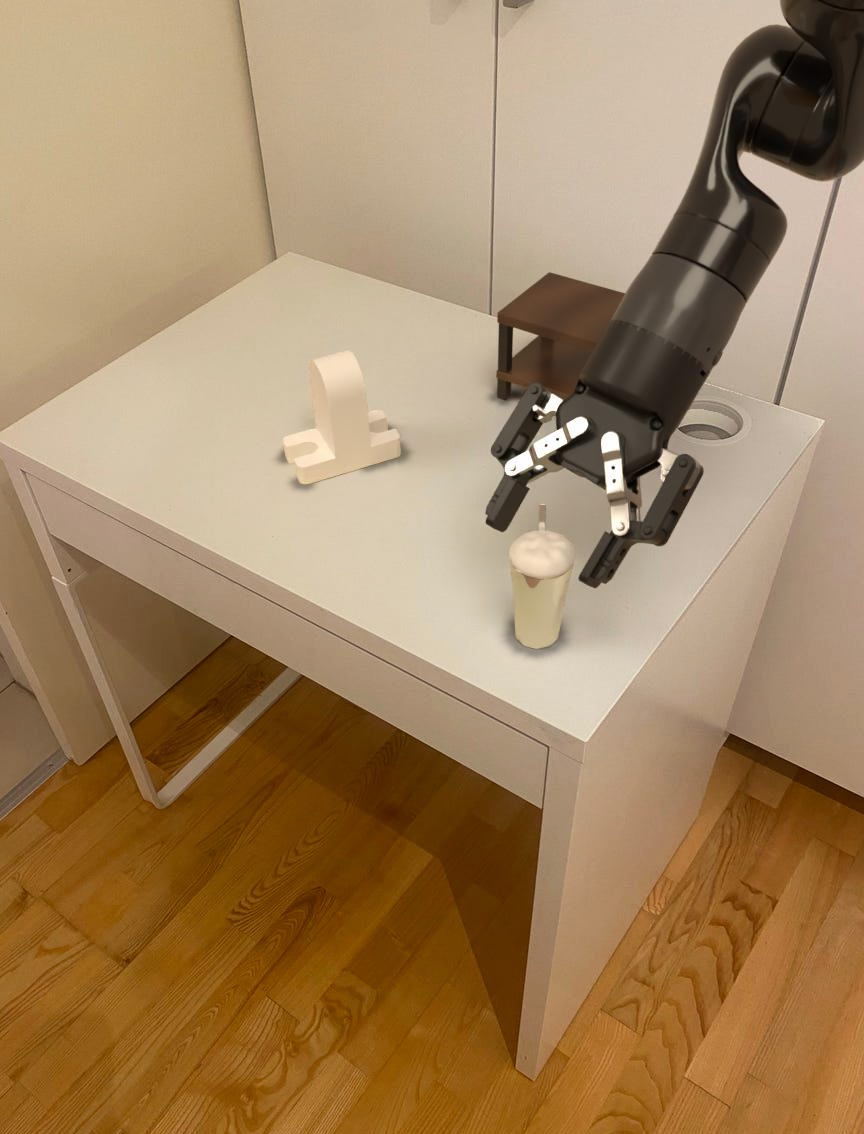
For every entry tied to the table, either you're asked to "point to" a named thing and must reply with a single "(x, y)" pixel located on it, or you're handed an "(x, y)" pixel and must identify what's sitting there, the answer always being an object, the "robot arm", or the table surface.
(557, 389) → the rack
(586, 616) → the table surface
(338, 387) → the cream mounting bracket
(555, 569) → the milkshake
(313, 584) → the table surface
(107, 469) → the table surface
